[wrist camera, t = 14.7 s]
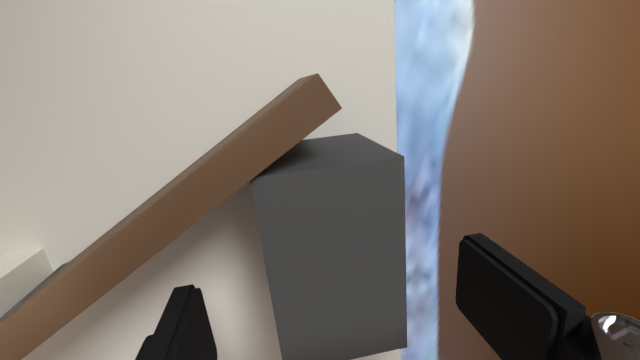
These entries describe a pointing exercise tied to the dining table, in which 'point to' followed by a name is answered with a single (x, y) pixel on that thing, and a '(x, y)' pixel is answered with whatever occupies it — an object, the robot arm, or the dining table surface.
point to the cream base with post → (164, 144)
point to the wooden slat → (166, 215)
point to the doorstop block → (335, 247)
